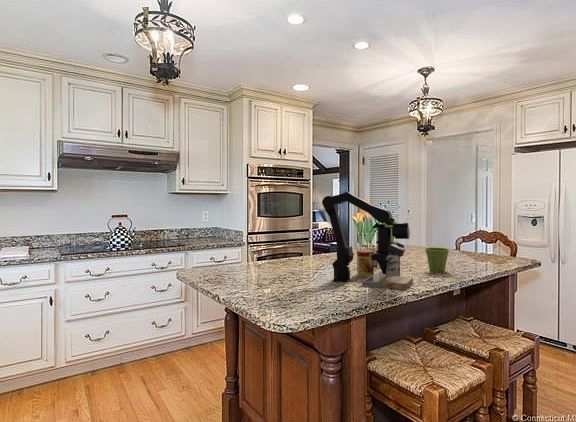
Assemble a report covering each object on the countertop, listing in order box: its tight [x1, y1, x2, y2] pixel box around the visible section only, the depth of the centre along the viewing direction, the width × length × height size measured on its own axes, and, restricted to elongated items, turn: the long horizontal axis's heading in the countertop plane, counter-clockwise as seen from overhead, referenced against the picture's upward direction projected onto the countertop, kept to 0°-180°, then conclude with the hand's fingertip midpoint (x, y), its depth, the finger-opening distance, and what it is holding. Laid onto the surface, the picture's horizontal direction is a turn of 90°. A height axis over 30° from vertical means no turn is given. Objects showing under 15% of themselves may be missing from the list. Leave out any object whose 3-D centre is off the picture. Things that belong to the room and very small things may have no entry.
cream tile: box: [373, 268, 386, 283], centre depth 159 cm, size 5×10×2 cm
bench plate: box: [381, 276, 414, 291], centre depth 155 cm, size 10×13×2 cm
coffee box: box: [386, 240, 401, 277], centre depth 176 cm, size 9×6×16 cm
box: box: [361, 275, 389, 289], centre depth 160 cm, size 8×15×2 cm, turn 149°
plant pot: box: [424, 247, 451, 273], centre depth 185 cm, size 12×12×11 cm
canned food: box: [356, 249, 375, 278], centre depth 177 cm, size 8×8×12 cm
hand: (384, 274), depth 158 cm, fingers closed
